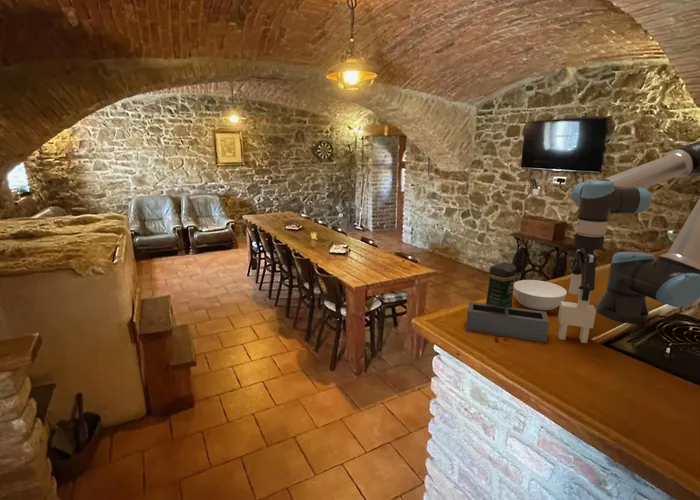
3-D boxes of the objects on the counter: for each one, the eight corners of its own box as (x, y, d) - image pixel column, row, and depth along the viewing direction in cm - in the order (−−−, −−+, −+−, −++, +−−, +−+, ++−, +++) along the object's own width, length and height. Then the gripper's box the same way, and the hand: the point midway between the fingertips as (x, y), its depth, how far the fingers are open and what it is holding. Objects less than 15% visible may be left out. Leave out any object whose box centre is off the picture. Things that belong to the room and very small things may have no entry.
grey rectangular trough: (543, 331, 125) (546, 311, 123) (546, 342, 118) (549, 322, 116) (467, 320, 133) (469, 301, 131) (465, 330, 126) (467, 311, 124)
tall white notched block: (587, 338, 120) (593, 305, 117) (589, 344, 117) (596, 310, 114) (555, 333, 123) (560, 301, 120) (557, 339, 120) (562, 305, 117)
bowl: (562, 320, 133) (565, 301, 131) (507, 309, 142) (509, 291, 141) (565, 302, 148) (568, 285, 146) (515, 293, 157) (517, 276, 155)
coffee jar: (502, 319, 134) (507, 269, 129) (481, 312, 140) (486, 264, 135) (515, 311, 140) (520, 263, 135) (495, 305, 146) (499, 259, 141)
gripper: (568, 225, 123) (557, 286, 129) (583, 242, 101) (570, 315, 106) (594, 227, 121) (583, 289, 126) (616, 245, 98) (601, 320, 104)
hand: (577, 301), depth 116 cm, fingers open, 13 cm apart
